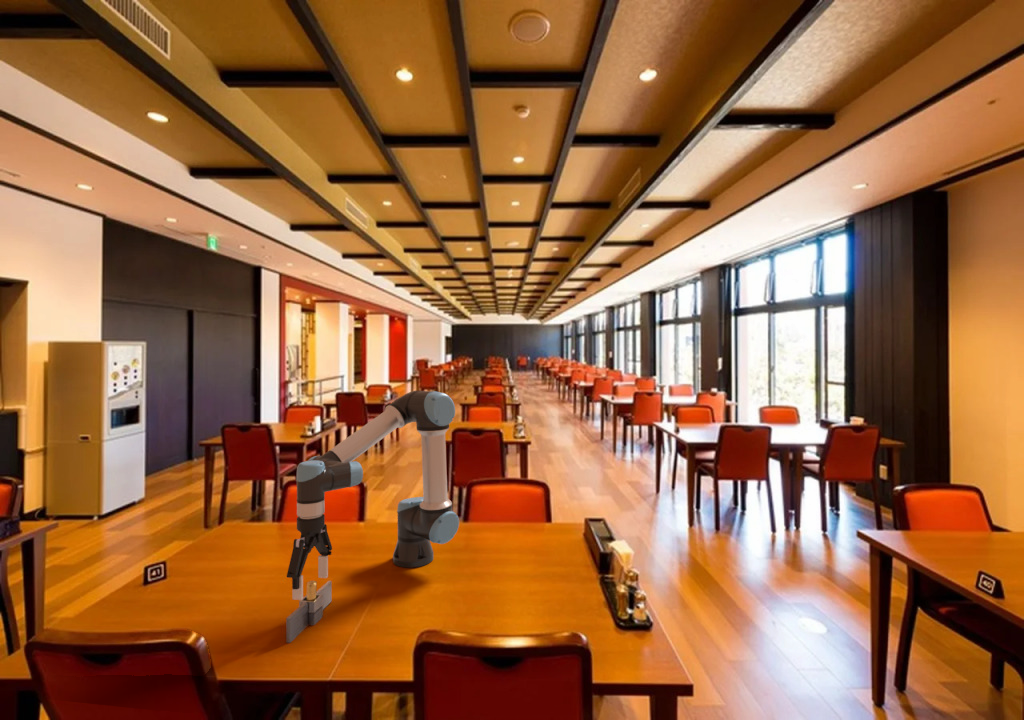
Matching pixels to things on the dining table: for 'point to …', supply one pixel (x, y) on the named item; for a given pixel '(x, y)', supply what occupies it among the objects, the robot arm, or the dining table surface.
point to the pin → (311, 590)
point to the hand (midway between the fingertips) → (311, 587)
